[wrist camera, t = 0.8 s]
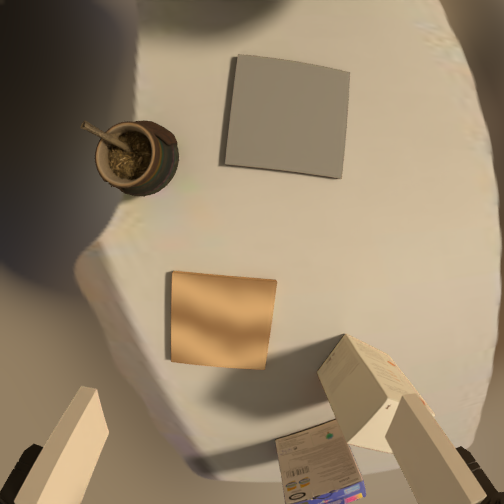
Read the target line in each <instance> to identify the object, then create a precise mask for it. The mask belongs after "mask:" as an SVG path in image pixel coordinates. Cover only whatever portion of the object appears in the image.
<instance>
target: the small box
mask: <svg viewBox="0 0 504 504" xmlns="http://www.w3.org/2000/svg"><path fill="white" fill-rule="evenodd" d="M317 374H318V376H319V379H320V381H321V384H322V386H323V388H324V391H325V393H326V396H327V398H328V400H329V403H330V405H331V408H332V410H333V412H334V415H335V417H336V420H337V422H338V424H339V427H340V429H341V432H342V434H343V436H344V439H345V441H346V444H350V445H354V446H358V447H363V448H367V449H372V450H376V451H381V452H386V453H391V454H393V452H392V450H391V448H390V446H389V444H388V442H387V440H386V438H385V435H386V433H387V431H388V428H389V426H390V424H391V422H392V419H393V417H394V414H395V412H396V410H397V407H398V405H399V402H400V400H401V397H402V395H407V394H414V393H416V394H417V395H418V397H419V398H420V399H421V401H422V402H423V404H424V405H425V406H426V408H427V409H428V410H429V412H430V413H431V415H432V416H433V417H434V416H435V414H434V412H433V411H432V410H431V408H430V407H429V406H428V404H427V403H426V402H425V401H424V399H423V398H422V397H421V395H420V394H419V393H418V392H417V390H416V389H415V388H414V386H413V385H412V384H411V383H410V381H409V380H408V379H407V378H406V376H405V375H404V374H403V373H402V371H401V370H400V369H399V368H398V366H397V365H396V364H395V362H394V361H393V360H392V359H391V357H390V356H389V355H388V354H386V353H384V352H382V351H380V350H378V349H376V348H374V347H372V346H370V345H368V344H366V343H364V342H362V341H360V340H358V339H356V338H354V337H352V336H350V335H347V334H345V335H344V336H343V337H342V339H341V340H340V342H339V343H338V344H337V346H336V347H335V348H334V350H333V351H332V352H331V354H330V355H329V357H328V358H327V359H326V360H325V362H324V363H323V365H322V366H321V367H320V368H319V370H318V371H317Z"/></svg>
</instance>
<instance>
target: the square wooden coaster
mask: <svg viewBox="0 0 504 504" xmlns="http://www.w3.org/2000/svg"><path fill="white" fill-rule="evenodd" d="M276 286H277V281H276V280H272V279H260V278H248V277H236V276H224V275H213V274H202V273H192V272H181V271H173V272H172V297H171V362H176V363H185V364H194V365H204V366H215V367H227V368H241V369H259V370H265V365H266V358H267V351H268V344H269V337H270V330H271V323H272V316H273V309H274V301H275V294H276Z"/></svg>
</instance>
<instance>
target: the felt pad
mask: <svg viewBox="0 0 504 504" xmlns="http://www.w3.org/2000/svg"><path fill="white" fill-rule="evenodd" d="M349 82H350V72H346V71H342V70H337V69H333V68H328V67H323V66H318V65H313V64H307V63H302V62H296V61H290V60H283V59H276V58H268V57H260V56H251V55H240V54H238V58H237V65H236V73H235V81H234V89H233V97H232V105H231V113H230V122H229V131H228V140H227V149H226V158H225V165H236V166H246V167H256V168H265V169H274V170H282V171H290V172H298V173H305V174H313V175H319V176H326V177H333V178H339V179H342V171H343V161H344V151H345V140H346V128H347V115H348V100H349Z"/></svg>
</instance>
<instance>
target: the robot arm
mask: <svg viewBox="0 0 504 504" xmlns="http://www.w3.org/2000/svg"><path fill="white" fill-rule="evenodd" d="M108 434H109V431H108V428H107V425H106V421H105V418H104V414H103V411H102V407H101V403H100V400H99V396H98V392H97V389H94V388H89V387H84V386H81V387H80V389H79V390H78V392H77V393H76V395H75V396H74V398H73V400H72V401H71V403H70V404H69V406H68V408H67V409H66V411H65V413H64V414H63V416H62V417H61V419H60V421H59V422H58V424H57V426H56V427H55V429H54V431H53V432H52V434H51V436H50V437H49V439H48V441H47V442H46V444H45V446H44V447H41V446H39V445H36V444H33V445H32V446H30V447H29V448H27V449H26V450H25V451H24V452H23V454H22V455H21V457H20V459H19V462H17V464H16V466H15V469H13V470H12V472H11V474H10V475H9V477H8V479H7V481H6V482H5V484H4V486H3V488H2V490H1V491H0V504H81V501H82V498H83V496H84V493H85V491H86V488H87V486H88V483H89V480H90V478H91V475H92V473H93V470H94V468H95V465H96V463H97V460H98V458H99V455H100V453H101V451H102V448H103V446H104V443H105V441H106V439H107V436H108ZM385 438H386V440H387V442H388V444H389V446H390V448H391V450H392V452H393V454H394V456H395V458H396V460H397V462H398V464H399V466H400V468H401V470H402V472H403V474H404V476H405V478H406V480H407V482H408V484H409V486H410V488H411V490H412V492H413V494H414V496H415V498H416V500H417V502H418V504H504V492H498V491H497V490H496V489H495V488H494V486H493V485H492V483H491V482H490V480H489V479H488V477H487V476H486V474H485V473H484V472H483V470H482V469H480V466H479V464H478V463H477V462H475V459H474V457H473V456H472V455H471V453H470V452H469V451H467V450H466V449H464V448H463V447H462V446H460V447H458V448H455V447H454V446H453V444H452V443H451V441H450V440H449V438H448V437H447V436H446V434H445V433H444V431H443V430H442V429H441V427H440V426H439V424H438V423H437V422H436V420H435V419H434V417H433V416H432V415H431V413H430V412H429V410H428V409H427V408H426V406H425V405H424V404H423V402H422V401H421V399H420V398H419V397H418V395H417V394H416V393H414V394H407V395H402V397H401V400H400V402H399V405H398V407H397V410H396V412H395V414H394V417H393V419H392V422H391V424H390V426H389V428H388V431H387V433H386V435H385Z"/></svg>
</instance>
